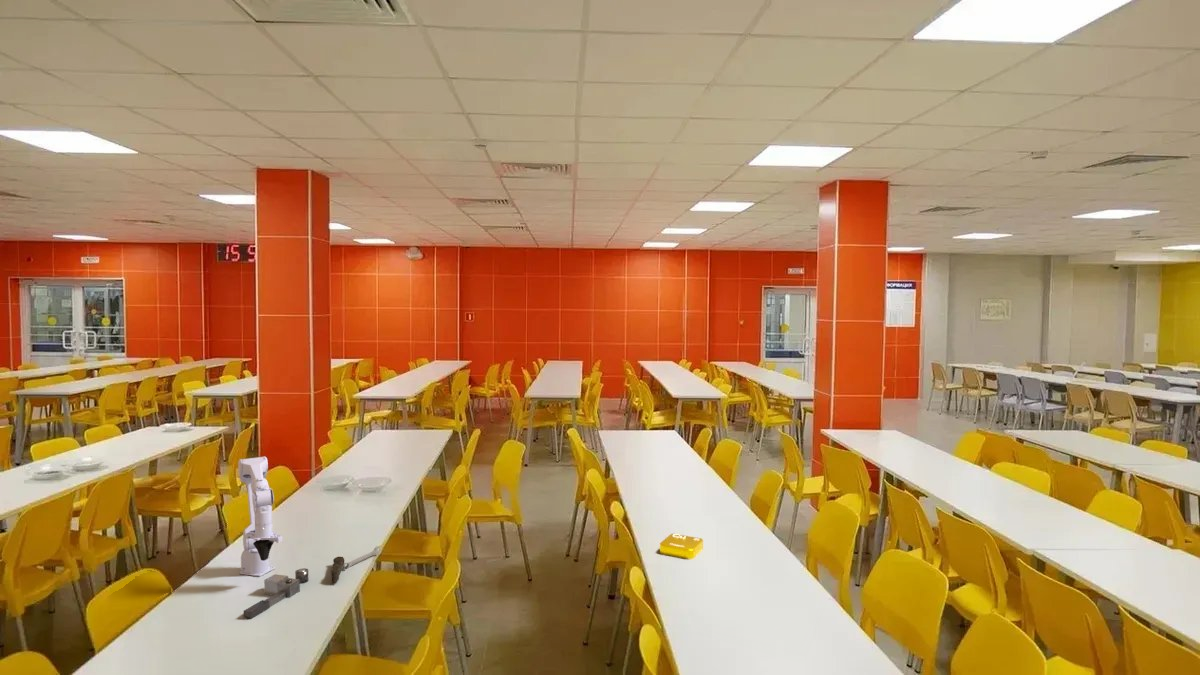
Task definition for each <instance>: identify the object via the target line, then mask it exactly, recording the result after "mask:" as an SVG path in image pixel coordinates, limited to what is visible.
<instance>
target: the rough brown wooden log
mask: <svg viewBox="0 0 1200 675" xmlns="http://www.w3.org/2000/svg"><path fill="white" fill-rule="evenodd" d="M332 561H333V562H332V568H331V575H330V577H331V579H330V580H331V583H332V585H334V586H335V585H336V584H337V583H338V581H339V579H340V574H341V571H342V570H343V569H342V566H343V564H344V563H345V558H344V557H343V556H336V557H334V558H333V560H332Z"/></svg>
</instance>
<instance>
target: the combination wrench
mask: <svg viewBox="0 0 1200 675" xmlns="http://www.w3.org/2000/svg"><path fill="white" fill-rule="evenodd" d="M379 548H381V545H378V546H375V547H374V549H373V550H372V551H370V552H368V553H366V554H364V555H362V556H360V557H358V558H356V559H355V558H354V560H353V559H352V560H351V561H348V562H344V564H343V566H342V569H341V570H343V571H347V570H348V569H349V568H350V567H352V566H353V565H355V564H357V563H360V562H362V561H364V560H366V559H368V558H370V557H371V556H379V555H381V553H382V550H379V551H378V549H379ZM345 566H346V568H345Z"/></svg>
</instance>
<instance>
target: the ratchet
mask: <svg viewBox="0 0 1200 675" xmlns="http://www.w3.org/2000/svg"><path fill="white" fill-rule="evenodd" d="M300 591H301V584H300V579H295V578H291V577H288V578H287V579H285V580H283V581H282V582H280V583H278V593H276V594H275V595H270V597H268V598H266V599H261V600H260V601H258V602H257V603H255V604H253V605H251V606H250V607H248V608H246V609H244V610H243V619H249V620H252V619H254V618H255V617H257V616H259V615H261V614H262V613H265V612H266V611H267V610H269V609H270V608H271V607H273V606H274V605H276V604H278V603H279V602H281V601H283V600H284V599H286V598H292V597H293V596H295V595H296V593H297V594H298V593H300Z"/></svg>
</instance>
